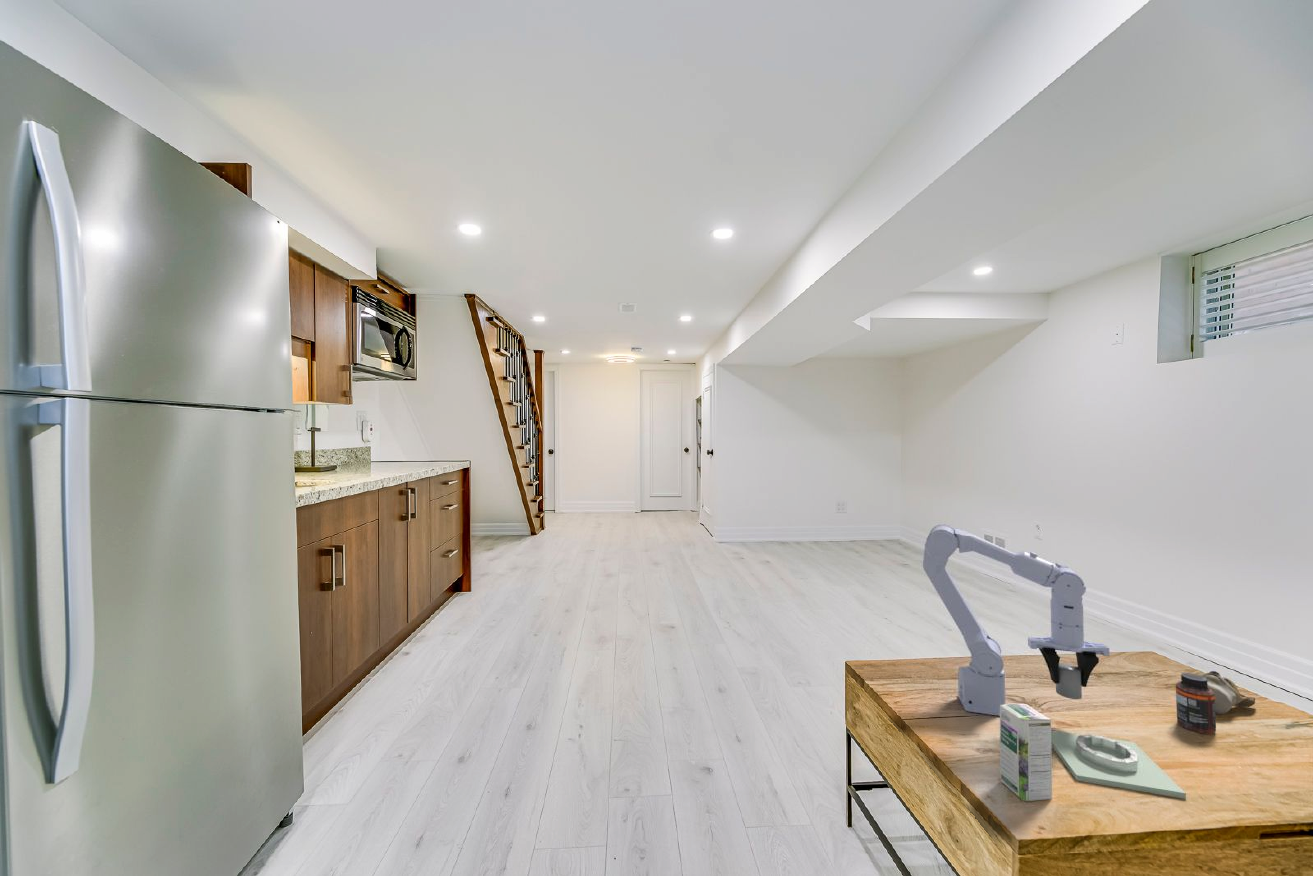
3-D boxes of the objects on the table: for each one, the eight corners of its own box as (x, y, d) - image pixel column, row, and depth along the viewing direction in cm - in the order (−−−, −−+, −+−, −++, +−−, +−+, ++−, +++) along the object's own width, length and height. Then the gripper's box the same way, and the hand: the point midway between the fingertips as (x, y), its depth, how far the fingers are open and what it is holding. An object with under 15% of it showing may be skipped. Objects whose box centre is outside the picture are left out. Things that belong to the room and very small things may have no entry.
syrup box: (998, 781, 94) (997, 703, 95) (1028, 778, 95) (1026, 702, 95) (1023, 802, 89) (1021, 720, 89) (1054, 800, 89) (1052, 718, 89)
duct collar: (1090, 767, 96) (1089, 757, 96) (1068, 741, 105) (1068, 731, 105) (1149, 776, 94) (1148, 766, 94) (1122, 749, 102) (1122, 739, 102)
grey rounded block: (1061, 697, 111) (1060, 670, 111) (1051, 687, 116) (1051, 661, 116) (1085, 700, 110) (1085, 673, 110) (1075, 690, 114) (1074, 663, 114)
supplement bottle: (1206, 723, 112) (1205, 673, 113) (1222, 738, 107) (1221, 684, 107) (1171, 718, 115) (1169, 668, 115) (1185, 731, 110) (1183, 679, 110)
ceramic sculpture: (1173, 667, 121) (1195, 658, 128) (1172, 703, 121) (1195, 692, 128) (1238, 686, 112) (1259, 675, 119) (1238, 725, 112) (1259, 712, 119)
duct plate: (1076, 780, 94) (1076, 775, 94) (1042, 733, 109) (1042, 729, 109) (1185, 799, 89) (1185, 793, 89) (1133, 747, 104) (1133, 742, 104)
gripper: (1035, 625, 111) (1037, 686, 111) (1116, 632, 107) (1118, 696, 107) (1023, 615, 118) (1025, 673, 118) (1099, 621, 113) (1100, 681, 113)
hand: (1068, 683), depth 113 cm, fingers closed on grey rounded block, 4 cm apart
